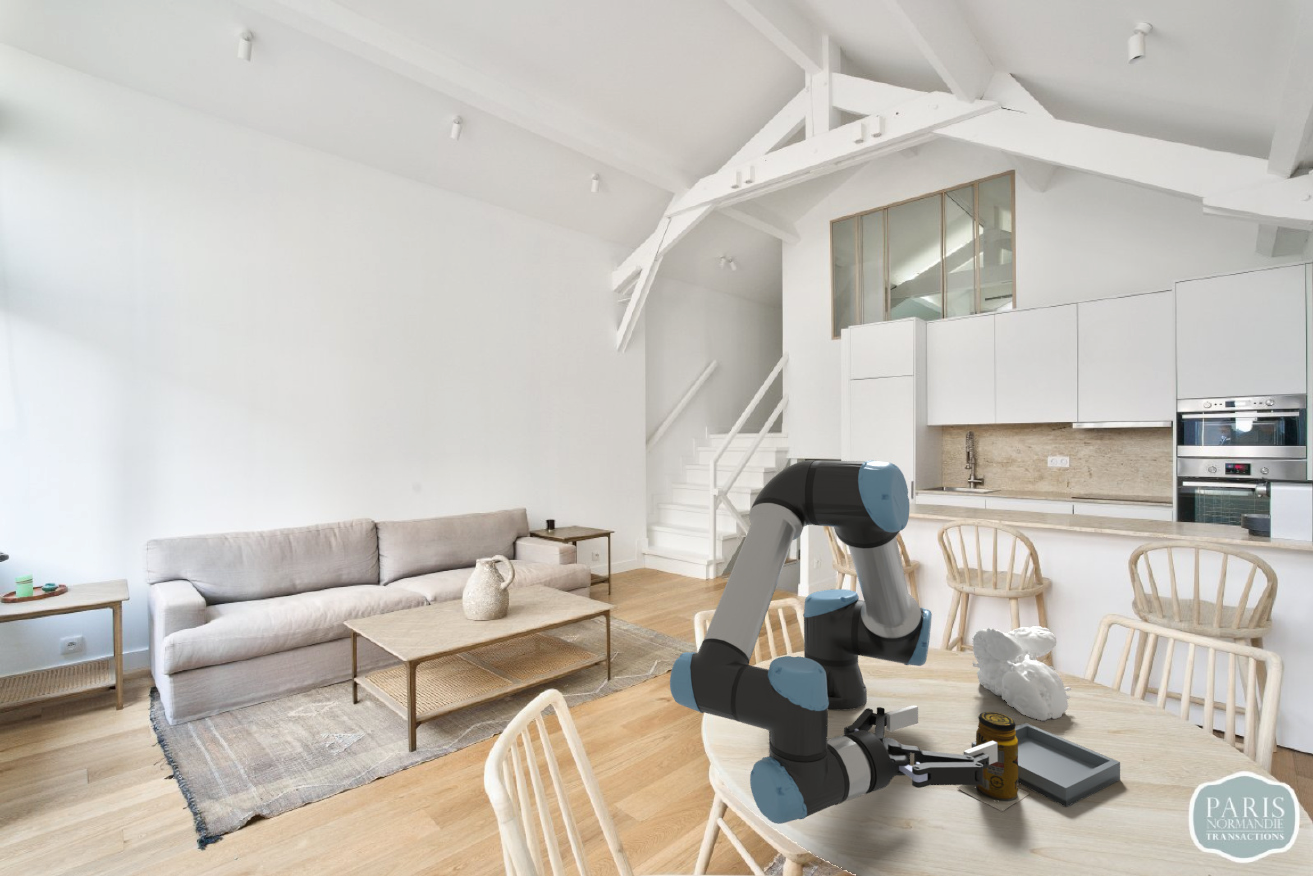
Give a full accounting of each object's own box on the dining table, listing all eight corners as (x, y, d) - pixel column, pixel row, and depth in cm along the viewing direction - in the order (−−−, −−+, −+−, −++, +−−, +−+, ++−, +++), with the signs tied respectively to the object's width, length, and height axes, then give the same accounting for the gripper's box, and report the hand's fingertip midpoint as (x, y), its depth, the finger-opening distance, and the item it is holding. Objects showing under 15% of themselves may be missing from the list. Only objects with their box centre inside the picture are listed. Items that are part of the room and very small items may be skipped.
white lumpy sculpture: (1060, 691, 116) (981, 613, 132) (1005, 754, 126) (937, 674, 141) (1117, 679, 125) (1036, 606, 140) (1061, 739, 134) (991, 665, 149)
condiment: (1029, 794, 99) (1029, 720, 99) (1002, 812, 94) (1002, 735, 94) (984, 773, 105) (984, 704, 105) (957, 789, 100) (956, 717, 100)
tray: (971, 759, 109) (971, 742, 109) (1025, 738, 117) (1025, 722, 117) (1065, 807, 95) (1065, 788, 95) (1120, 779, 103) (1120, 762, 103)
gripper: (793, 751, 96) (888, 722, 105) (930, 844, 73) (1034, 797, 83) (793, 703, 96) (888, 679, 105) (929, 782, 74) (1034, 742, 83)
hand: (953, 731), depth 94 cm, fingers open, 13 cm apart
